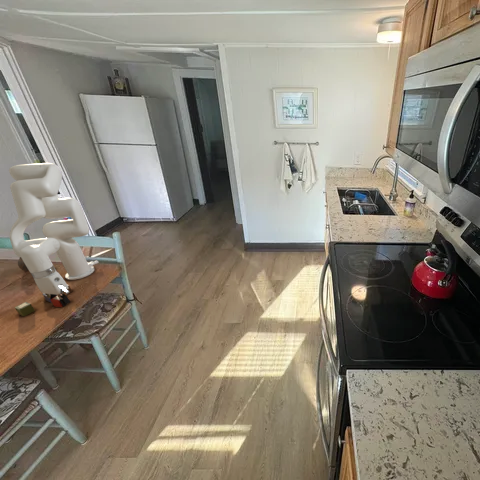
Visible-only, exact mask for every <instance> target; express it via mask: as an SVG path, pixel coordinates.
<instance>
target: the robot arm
mask: <svg viewBox="0 0 480 480" xmlns="http://www.w3.org/2000/svg"><path fill="white" fill-rule="evenodd" d="M8 171H9V175H10V176H11V178H13V180H15V181H12V182H11V183H10V185H9V186H10V187H9V188H10V192H11V195H12V200H13V202H14V206H15V209H16V212H17V219H16V220H15V221H14V223H13V224H12V226H11V228H10V232H9V240H10V244H11V247H12V250H13V252H14V254H15V255H16V256H17V257H18V258H20V257H21V258H22V260H23V261H24V263H25V265H26V266H27V268H28V270H29V271H28V272H29V274H30V275H31V277H32V278H33V280H34V282H35V284H36V287H37V288H38V290H39V292H41V293H42V294H45V295H47V296H48V298H50V300H51V299H52V298H54V297H55V296H58V297H59V301H60V302H61V304H62V306H63V307H65V306H67V305H68V304H70V303H71V301H70V299H69V297H68V295H69V294H71V293H70V292H69V291H68V290H67V289H69V288H68V286H67V285H68V284H67V282H66V281H65V279H66V280H67V281H76V280H80V279H83V278H87V277H89V276H90V275H92V274H93V273H94V272H95V267H94V266H95V265H98V264H99V263H100V262H99V260H98V259H96V260H94V261H93V260H91V261H87V258H86V257H85V254H84V252H83V250H82V248H81V246H80V244H79V243H78V241H76V240H75V239H74V238H80V237H85V236H88V235H89V233H90V227H89V224H88V220H87V217H86V216H85V215H86V214H85V213H84V210H83V207H82V205H81V203H80V201H79V200H78V199H77V198H74V197H64V198H63V197H62V198H61V197H59V195H58V193H59V191H60V189H61V188H60V187H61V183H62V179H63V171H62V170H61V167H59V165H57V164H56V163H52V162H42V163H24V164H16V165H13V166H11V167H9V169H8ZM63 218H70V219H63ZM42 219H46V220H54V219H60V220H54V221H50V222H47V223H44V225H43V226H42V229H41V230H42V233H43V235H44V237H42V238H34V239H28V240H27V239H26V240H25V236H24V234H25V231H26V229H27V228H28V227H29V226H31V224H34V223H35V222H37V221H39V220H42ZM61 219H62V220H61ZM55 253H56V254H57V256H58V258H59V260H60V262H61V264H62V265H63V268H64V270H65V271H66V274H64V277H65V279H64V278H63V276H62V275H61V274H60V272H58V271H57V270H56V267H55V266H54V264H53V262H52V260H51V258H50V256H52V255H54V254H55ZM61 293H63V294H62V295H60V294H61ZM68 293H69V294H68Z"/></svg>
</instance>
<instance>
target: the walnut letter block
mask: <svg viewBox="0 0 480 480" xmlns="http://www.w3.org/2000/svg"><path fill="white" fill-rule="evenodd" d="M67 286H68V288H69V289H67V290H68V291H69V292H70V293H68V294H67V295H69V294H71V293H73V290H72V289H71V286H70V285H69V284H67ZM62 294H63V293H61V295H62Z"/></svg>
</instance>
